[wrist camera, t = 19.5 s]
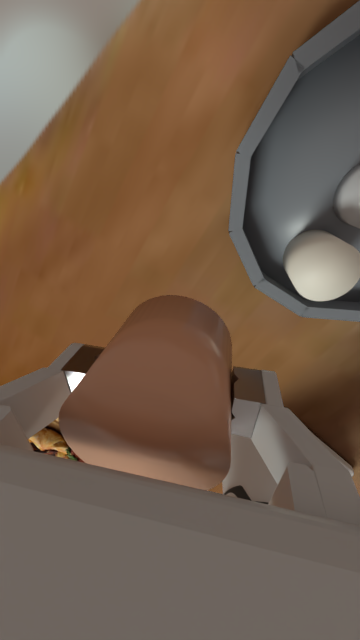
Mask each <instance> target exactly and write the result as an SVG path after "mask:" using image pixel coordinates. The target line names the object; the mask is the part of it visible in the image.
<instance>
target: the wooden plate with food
mask: <svg viewBox="0 0 360 640" xmlns="http://www.w3.org/2000/svg"><path fill="white" fill-rule="evenodd" d="M58 418H59V417H58ZM58 418H57V419H56V420H54V421H53V422H51V423H50V424H49V425H47V426H46V427H44V428H43V429H42V430H40V431H39V432H37V433H36V434H35V435H33V436H32V437H30V438H29V439H28V440H29V442H30V444H31V446H32V448H33V451H34V452H39V453H43V454H48V455H52V456H56V457H61V458H65V459H70V460H74V461H79V462H83V463H85V462H84V461H83V460H82V459H80V458H79V457H78V456H77V455H76V454H75V453H74V452H73V450H72V449H71V448H70V447H69V446H68V444H67V442H66V441H65V439H64V437H63V435H62V433H61V430H60V427H59V420H58Z"/></svg>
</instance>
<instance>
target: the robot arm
mask: <svg viewBox="0 0 360 640" xmlns="http://www.w3.org/2000/svg"><path fill="white" fill-rule="evenodd" d="M104 349H105V348H104V347H98V346H92V345H87V344H79V343H73V344H71V345H70V346H69V347H68V348H67V349H66V350H65V351H64V352H63V353H62V354H61V355H60V356H59V357H58V358H57V359H56V360H55V361H54V362H53V363H52V364H51V365H50V366H49V367H48V368H42V369H39V370H37V371H35V372H32V373H30V374H28V375H26V376H23V377H21V378H19V379H16V380H14V381H12V382H9V383H7V384H5V385H2V386H0V640H360V497H359V495H358V492H357V490H356V487H355V485H354V482H353V479H352V476H353V475H354V471H353V468H352V467H351V465H349V464H348V463H347V462H346V461H345V460H344V459H342V458H341V457H340V456H339V455H338V454H336V453H335V452H334V451H333V450H332V449H331V448H329V447H328V446H327V445H326V444H325V443H323V442H322V441H321V440H320V439H319V438H317V437H316V436H315V435H314V434H313V433H312V432H311V431H310V430H309V429H308V428H307V427H306V426H305V425H304V424H303V423H302V422H301V421H300V420H299V419H298V418H297V417H296V416H295V415H294V414H293V412H292V411H291V410H290V409H289V408H285V407H284V406H283V401H282V397H281V392H280V388H279V384H278V379H277V375H276V373H275V372H274V371H266V370H257V369H249V368H242V367H235V366H233V370H232V385H231V464H230V469H229V472H228V474H227V476H226V477H225V479H224V480H223V481H222V483H223V494H219V493H215V492H211V491H206V490H202V489H197V488H193V487H189V486H184V485H180V484H175V483H171V482H167V481H162V480H158V479H154V478H149V477H145V476H140V475H136V474H132V473H127V472H123V471H118V470H114V469H109V468H105V467H101V466H96V465H92V464H87V463H83V462H79V461H74V460H70V459H65V458H61V457H56V456H52V455H48V454H43V453H39V452H34V451H33V448H32V446H31V444H30V442H29V440H28V439H29V438H30V437H32V436H33V435H35V434H36V433H37V432H39V431H40V430H42V429H43V428H44V427H46V426H47V425H49V424H50V423H51V422H53V421H54V420H56V419H57V418H58V417H59V412H60V409H61V406H62V405H63V403H64V402H65V400H66V399H67V398H68V396H69V395H70V394H71V392H72V391H73V390H74V388H75V387H76V386H77V385H78V383H79V382H80V381H81V379H82V378H83V377H84V375H85V374H86V373H87V371H88V370H89V369H90V367H91V366H92V365H93V363H94V362H95V361H96V359H97V358H98V357H99V355H100V354H101V353H102V351H103V350H104Z"/></svg>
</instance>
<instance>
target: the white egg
mask: <svg viewBox="0 0 360 640" xmlns="http://www.w3.org/2000/svg"><path fill="white" fill-rule="evenodd" d="M282 262H283V267H284V269H285V271H286V273H287V274H288V276H289V278H290V280H291V281H292V283H293V285H294V287H295V288H296V290H297V291H298V293H299V294H300V295H302V296H303V297H305V298H306V299H309V300H313V301H328V300H332V299H336V298H338V297H340V296H342V295H344V294H345V293H347V292H348V291H349V290H351V289H352V288H353V287H354V286H355V284H356V283H357V282H358V280H359V278H360V253H359V251H358V250H357V249H356V248H355V247H353V246H352V245H350V244H348V243H346V242H344V241H343V240H341V239H339V238H337V237H336V236H334V235H332V234H330V233H329V232H327V231H324V230H309V231H305V232H303V233H301V234H299V235H297V236H296V237H294V238H293V239H292V240H291V241H290V242H289V244H288V245H287V247H286V248H285V250H284V253H283V258H282Z"/></svg>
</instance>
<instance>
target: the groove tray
mask: <svg viewBox="0 0 360 640" xmlns="http://www.w3.org/2000/svg"><path fill="white" fill-rule="evenodd" d="M236 153H237V154H235V165H234V176H233V187H232V198H231V209H230V220H229V234H230V237H231V239H232V241H233V243H234V245H235V247H236V250H237V252H238V254H239V256H240V258H241V260H242V263H243V265H244V267H245V269H246V271H247V273H248V276H249V278H250V280H251V282H252V284H253V286H254V287H255V288H256V289H258V290H259V291H261V292H263V293H264V294H266V295H267V296H269V297H270V298H272V299H274V300H275V301H277V302H278V303H280V304H281V305H283V306H285V307H286V308H288V309H289V310H291V311H292V312H294V313H296V314H297V315H299V316H302V317H308V318H320V319H332V320H345V321H357V322H360V278H359V280H358V282H357V283H356V284H355V286H354V287H353V288H352V289H351V290H349V291H348V292H347V293H345V294H344V295H342V296H340V297H338V298H336V299H332V300H328V301H313V300H309V299H306V298H305V297H303V296H302V295H300V294H299V293H298V291H297V290H296V288H295V287H294V285H293V283H292V281H291V280H290V278H289V276H288V274H287V273H286V271H285V269H284V267H283V262H282V258H283V253H284V250H285V248H286V247H287V245H288V244H289V242H290V241H291V240H292V239H293V238H294V237H296V236H297V235H299V234H301V233H303V232H305V231H309V230H324V231H327V232H329V233H330V234H332V235H334V236H336V237H337V238H339V239H341V240H343V241H344V242H346V243H348V244H350V245H352V246H353V247H355V248H356V249H357V250H358V251H359V253H360V0H359V1H358V2H357V3H356V4H354V5H353V6H352V7H350V8H349V9H348V10H347V11H345V12H344V13H343V14H341V15H340V16H339V17H338V18H336V19H335V20H334V21H332V22H331V23H330V24H329V25H327V26H326V27H325V28H323V29H322V30H321V31H320V32H318V33H317V34H316V35H314V36H313V37H312V38H311V39H309V40H308V41H307V42H305V43H304V44H303V45H302V46H300V47H299V48H298V49H297V50H295V51H294V52H293V53H292V56H291V55H290V57H289V59H288V60H287V62H286V64H285V66H284V68H283V69H282V71H281V73H280V75H279V76H278V78H277V80H276V82H275V84H274V85H273V87H272V89H271V91H270V92H269V94H268V96H267V98H266V99H265V101H264V103H263V105H262V107H261V108H260V110H259V112H258V114H257V115H256V117H255V119H254V121H253V122H252V124H251V126H250V128H249V130H248V131H247V133H246V135H245V137H244V138H243V140H242V142H241V144H240V145H239V147H238V149H237V151H236Z"/></svg>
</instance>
